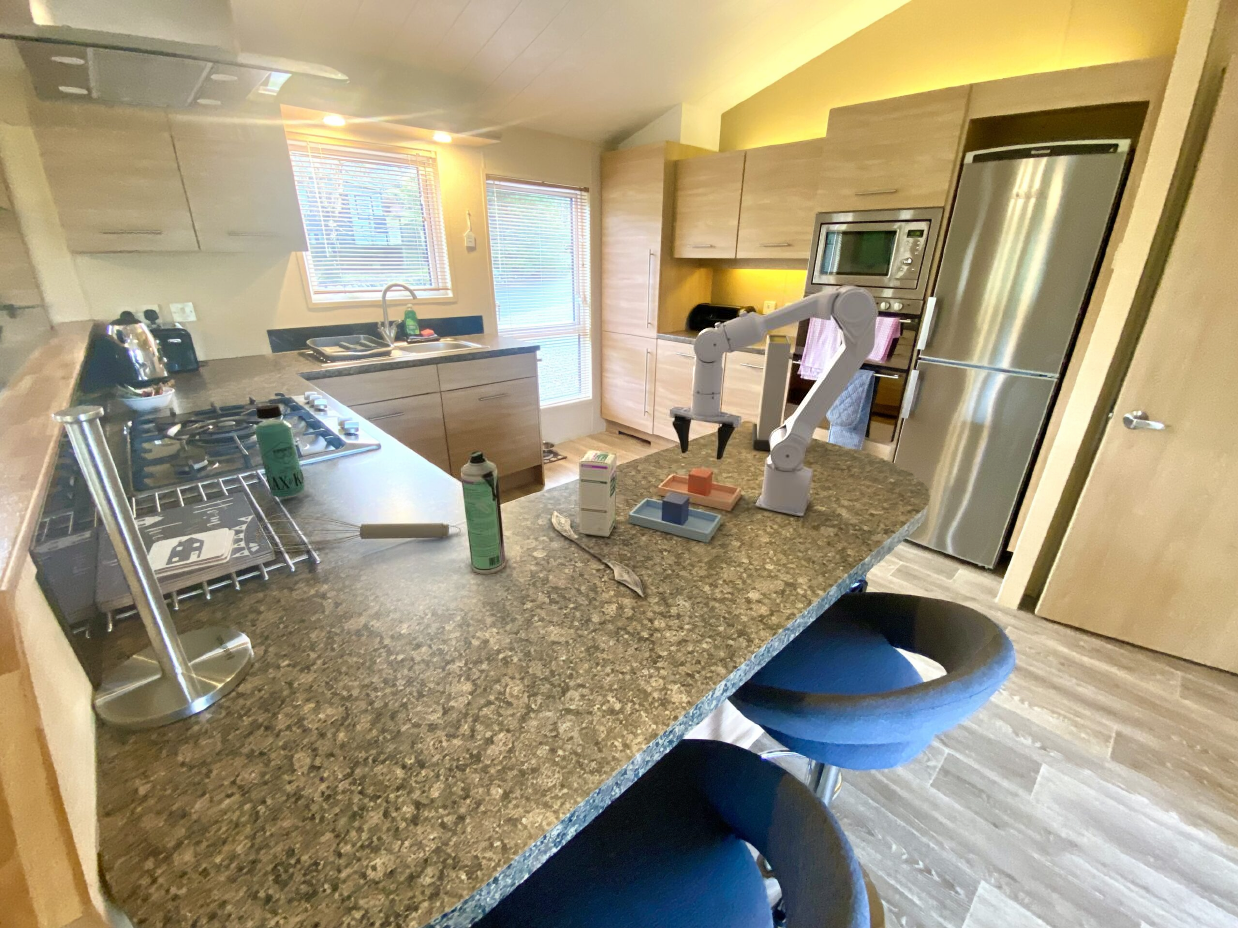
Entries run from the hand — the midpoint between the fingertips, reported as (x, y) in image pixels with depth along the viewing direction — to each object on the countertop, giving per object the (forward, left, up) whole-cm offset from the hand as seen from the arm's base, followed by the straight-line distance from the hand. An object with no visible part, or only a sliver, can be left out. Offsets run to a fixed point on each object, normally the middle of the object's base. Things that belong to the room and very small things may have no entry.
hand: (701, 454), depth 108 cm
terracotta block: (0, 0, -9) cm, 9 cm away
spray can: (+22, +42, -10) cm, 48 cm away
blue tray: (0, +14, -9) cm, 17 cm away
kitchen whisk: (+47, +47, -10) cm, 67 cm away
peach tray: (0, 0, -9) cm, 9 cm away
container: (-5, -41, -10) cm, 42 cm away
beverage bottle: (+76, +42, -10) cm, 87 cm away
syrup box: (+12, +23, -9) cm, 28 cm away
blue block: (0, +14, -9) cm, 17 cm away
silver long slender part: (+9, +30, -10) cm, 33 cm away
